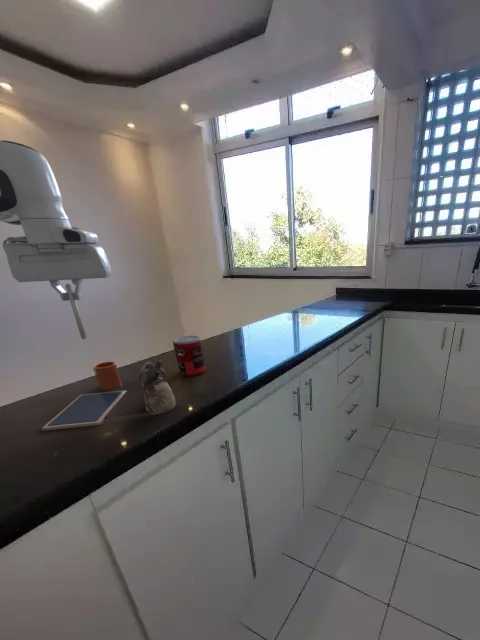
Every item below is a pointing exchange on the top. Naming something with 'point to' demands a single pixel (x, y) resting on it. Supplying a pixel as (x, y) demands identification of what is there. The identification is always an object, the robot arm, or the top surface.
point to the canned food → (189, 355)
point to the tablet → (85, 411)
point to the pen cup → (107, 375)
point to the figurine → (156, 389)
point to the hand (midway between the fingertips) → (73, 300)
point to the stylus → (76, 312)
